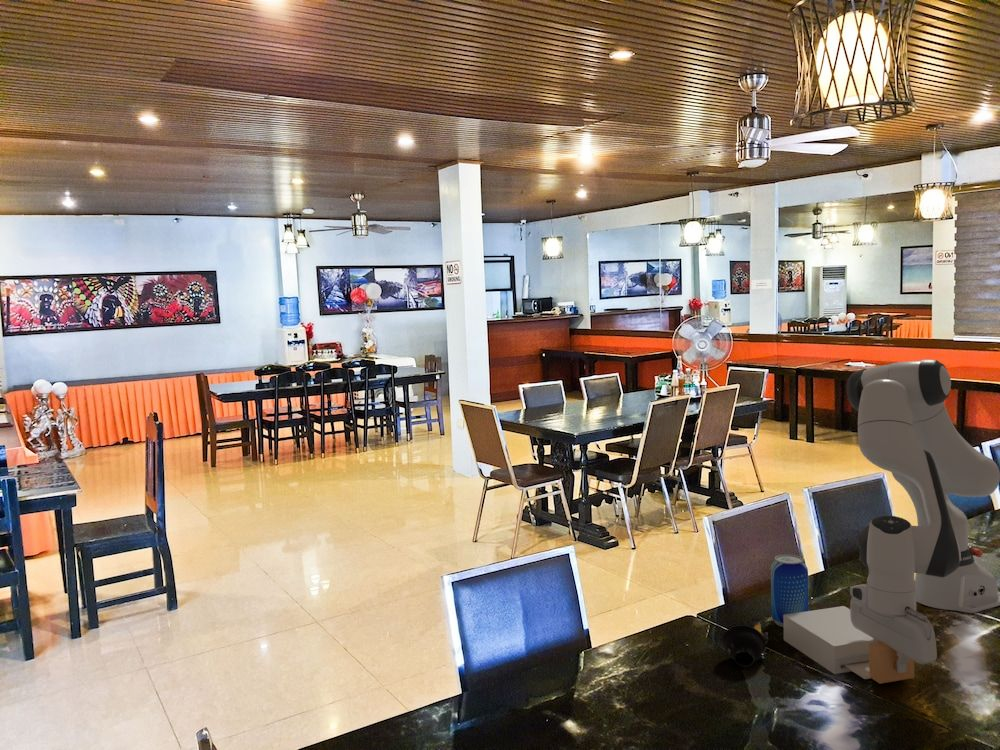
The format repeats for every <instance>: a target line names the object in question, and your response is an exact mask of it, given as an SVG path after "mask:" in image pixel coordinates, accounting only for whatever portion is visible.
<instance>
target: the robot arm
mask: <svg viewBox="0 0 1000 750" xmlns="http://www.w3.org/2000/svg"><path fill="white" fill-rule="evenodd" d="M845 386H846V389H845V390H846V395H847V400H848V402H849V404H850V406H851V407H852V408H853V409H855V411H857V439H858V445H859V446H858V447H859V449H860V452H861V454H862V455H863V457H864V458H866V459H867V461H869V462H870V463H872V464H873V465H874V466H877V467H878V468H880V469H881V470H884V471H888V472H890V473H891V475H892V477H893V478H894V480H895V481H896V482H897V483H899V484H900V485H901V486H902V488H904V490H905V492H906V493H907V494H908V496H909V498H910V500H911V501H912V504H913V506H914V509H915V512H916V518H917V522H916V523H917V525H912V524H911V522H910V521H909V520H907V519H905V518H904V517H900V516H895V515H880V516H877V517H874V518H873V519H871V521H870V522H869V524H868V525H866V526H865V527H864V528H863V529H862V530H861V531H860V532H859V533H858V539H859V540H858V541H859V551H860V552H859V557H858V560H859V561H860V562H861V563H862V564H863V565H864V566H865V567H866V568H867V569H868V575H867V579H866V583H862V584H861V583H860V584H857V585H851V586H850V587H849V594H850V596H851V598H850V605H849V609H850V617H851V622H852V624H853V626H854V628H856V629H858V630H860V631H862V632H863V633H865V634H867V635H869V636H870V637H872V638H873V643H875V642H881V643H883V644H885V645H886V646H888V647H890V648H892V649H894V650H895V651H897V656H898V657H899V658H898V660H897V661H894V662H893V665H894V667H893V668H894V670H896V671H898V672H899V673H903V672H906V664H907V662H908V661H909V659H911V660H913V661H914V663H917V664H919V665H927V664H931V663H932V664H933V663H934V662H935V661H936V660H937V658H938V652H937V651H938V650H937V640H936V634H935V630H934V627H933V624H932V623H931V622H930V620H929V619H928V616H927V615H925V614H924V613H922V612H919V611H917V603H918V604H921V605H924V606H927V607H929V608H930V607H931V608H935V609H938V610H939V609H940V610H945V611H948V610H949V611H956V612H961V613H962V612H963V613H968V614H975V613H978V612H982V611H984V610H985V611H986V610H989V609H993V608H995V607H998V606H1000V591H999V589H998V588H999V587H998V582H997V579H996V577H995V576H994V575H993V574H992V573H990V571H988V570H987V569H986V568H984V567H983V566H981V564H979V563H977V562H976V561H975V558H974V556H976V557H977V558H982V556H983V555H984V551H983V550H982V549H981V548H977V547H972V548H971V547H969V520H968V517H967V516H966V514H965V513H964V512H963V511H962V510H961V509H960V508H958V507H957V506H956V505H954V503H953V502H952V501H951V499H950V498H949V495H954V496H960V497H965V498H981V497H983V498H984V497H985V498H986V497H989V496H991V495H992V494H993V493H994V492H995V491H996V490H997V488H998V486H999V484H1000V470H999V469H1000V468H999V466H998V465H997V463H996V462H995V461H994V460H993V459H992V458H990V457H988V455H987V456H986V455H985V454H984V453H982V452H980V451H978V450H977V449H976V448H975V447H973V446H972V445H971V444H970V443H969V442H968V441H967V440H966V439H965V438H964V437H963V436H962V435H961V434H960V433H959V432H958V430H957V429H956V427H955V426H954V424H953V422H952V419H951V417H950V415H949V411H948V409H947V407H946V404H945V401H946V400H947V399H948V398H949V396H950V394H951V387H952V380H951V375H950V373H949V371H948V369H947V367H946V366H945V364H944V363H942V362H940V360H939V361H938V359H937V360H936V359H921V360H911V361H910V360H909V361H899V362H893V363H890V364H884V365H880V366H879V365H878V366H874V367H871V368H862V369H859V370H856V371H854V372H852V373H850V376H849V377H848V378H847V380H846V385H845Z"/></svg>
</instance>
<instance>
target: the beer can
mask: <svg viewBox="0 0 1000 750" xmlns="http://www.w3.org/2000/svg"><path fill="white" fill-rule="evenodd" d="M808 569H809V568H808V567H807V565H806V563H805V561H804V558H803V557H801V556H799V555H795V554H778V555H776V556H775V557H774V561H773V562H772V564H771V566H770V593H771V594H770V597H771V598H770V599H771V601H770V602H771V603H770V604H771V619H772V620H773V621H774V623H775V624H776V625H777V626H778V627H780V628H784V624H783V615H786V614H792V613H799V612H806V611H810V610H809V570H808Z"/></svg>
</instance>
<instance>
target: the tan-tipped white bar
mask: <svg viewBox="0 0 1000 750" xmlns="http://www.w3.org/2000/svg"><path fill="white" fill-rule="evenodd" d="M898 658H899V657H898V656H897V651H895V650H894V649H892V648H890V647H888V646H886V645H885V644H883V643H881V642H875V643H869V660H868V661H862V662H856V663H850V664H844V665H843V666H845V667H847V668H848V669H850V670H851V672H853V673H854V674H856V675H857V676H859V677H860V678H862V679H864V680H869V679H872V680H873V681H875V682H877V683H878V684H880V685H881V684H885V683H893V682H898V681H903V680H904V681H905V680H909V679H915V661H913V660H911V659H909V661H908V662H907V664H906V672H903V673H899V672H898V671H896V670H894V668H893V667H894V665H893V662H894V661H897V660H898Z"/></svg>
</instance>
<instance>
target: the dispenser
mask: <svg viewBox="0 0 1000 750" xmlns="http://www.w3.org/2000/svg"><path fill="white" fill-rule="evenodd" d="M783 624H784V627H783V642H786V643H787V644H789V645H790V646H792V647H793V648H795V649H796V650H797V651H799V652H800V653H802V654H804V655H806V657H808V658H810V659H811V660H812V661H814V662H815V663H817V664H818V665H820V666H821V667H823V668H825V670H828V671H829V673H832V674H833V675H838V674H844V673H850V672H852V671H851V670H850V669H848V668H847V667H845V666H843V665H844V664H850V663H856V662H862V661H868V660H869V643H873V638H872V637H870V636H869V635H867V634H865V633H863V632H862V631H860V630H858V629H856V628H854V626H853V624H852V622H851V617H850V607H846V606H845V605H841V606H835V607H828V608H821V609H814V610H813V609H812V610H809V611H806V612H799V613H792V614H786V615H783Z"/></svg>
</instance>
